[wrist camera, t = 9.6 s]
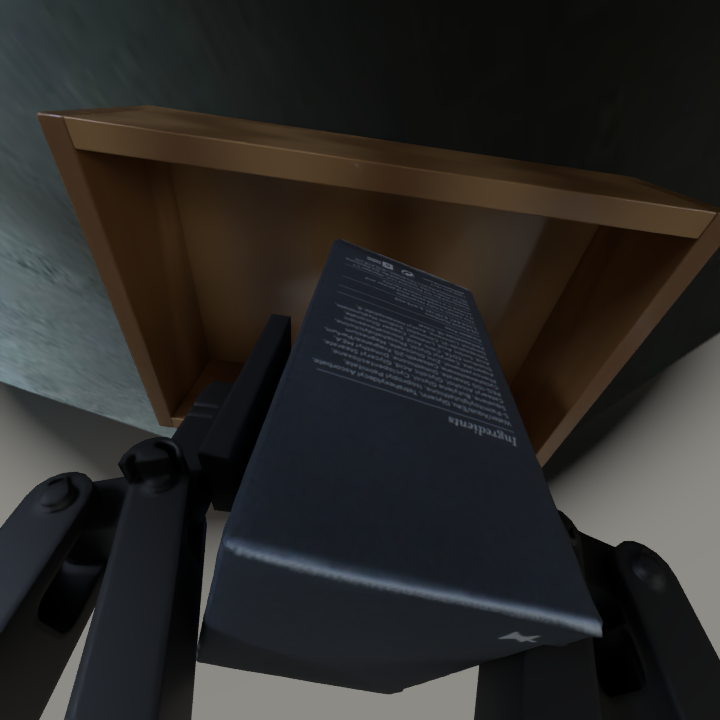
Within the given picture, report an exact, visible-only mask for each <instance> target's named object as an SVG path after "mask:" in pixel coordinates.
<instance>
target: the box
mask: <svg viewBox="0 0 720 720" xmlns="http://www.w3.org/2000/svg"><path fill="white" fill-rule="evenodd" d="M602 623H603V621H602V619H601V617H600V615H599V613H598V611H597V609H596V607H595V604H594V602H593V600H592V598H591V595H590V593H589V591H588V588H587V586H586V583H585V581H584V579H583V575H582V572H581V569H580V565H579V563H578V560H577V558H576V555H575V553H574V550H573V548H572V545H571V543H570V540H569V537H568V534H567V532H566V529H565V527H564V525H563V522H562V520H561V518H560V515H559V513H558V511H557V508H556V506H555V503H554V501H553V499H552V496H551V493H550V491H549V488H548V485H547V483H546V481H545V478H544V474H543V471H542V468H541V466H540V464H539V462H538V460H537V457H536V454H535V451H534V449H533V446H532V444H531V442H530V439H529V437H528V433H527V431H526V429H525V427H524V423H523V420H522V418H521V416H520V413H519V411H518V408H517V406H516V403H515V401H514V398H513V395H512V393H511V392H510V388H509V385H508V383H507V381H506V378H505V376H504V373H503V371H502V368H501V365H500V363H499V360H498V358H497V355H496V352H495V350H494V348H493V345H492V343H491V340H490V338H489V335H488V333H487V330H486V328H485V326H484V322H483V320H482V317H481V314H480V312H479V310H478V307H477V305H476V302H475V300H474V297H473V294H472V292H471V291H470V290H468V289H466V288H464V287H462V286H459V285H456V284H453V283H451V282H449V281H446V280H444V279H442V278H440V277H436V276H434V275H432V274H429V273H426V272H424V271H422V270H419V269H416V268H413V267H410V266H408V265H406V264H404V263H401V262H399V261H396V260H393V259H391V258H388V257H385V256H383V255H381V254H378V253H375V252H372V251H370V250H368V249H365V248H362V247H360V246H358V245H355V244H352V243H350V242H348V241H346V240H344V239H338V240H334V242H333V244H332V246H331V249H330V252H329V255H328V257H327V260H326V262H325V265H324V268H323V270H322V273H321V276H320V279H319V281H318V284H317V286H316V288H315V291H314V294H313V296H312V298H311V301H310V303H309V306H308V308H307V311H306V314H305V316H304V319H303V322H302V324H301V327H300V329H299V332H298V335H297V337H296V340H295V342H294V345H293V348H292V350H291V353H290V356H289V358H288V361H287V364H286V366H285V369H284V371H283V374H282V376H281V379H280V382H279V384H278V387H277V390H276V392H275V395H274V397H273V400H272V403H271V406H270V408H269V411H268V414H267V416H266V418H265V421H264V424H263V426H262V429H261V432H260V434H259V437H258V440H257V442H256V445H255V448H254V450H253V453H252V456H251V458H250V461H249V463H248V465H247V468H246V471H245V473H244V476H243V479H242V482H241V485H240V488H239V490H238V493H237V495H236V498H235V500H234V504H233V507H232V510H231V513H230V516H229V518H228V520H227V522H226V524H225V527H224V530H223V534H222V538H221V542H220V546H219V550H218V553H217V558H216V565H215V570H214V576H213V580H212V583H211V588H210V593H209V597H208V600H207V606H206V610H205V613H204V617H203V622H202V627H201V632H200V637H199V641H198V645H197V653H196V661H197V662H200V663H207V664H212V665H217V666H222V667H228V668H233V669H239V670H245V671H251V672H257V673H264V674H269V675H276V676H282V677H288V678H293V679H298V680H304V681H310V682H315V683H321V684H328V685H334V686H340V687H346V688H351V689H357V690H364V691H370V692H376V693H383V694H393V693H397V692H402V691H403V689H405V688H408V687H411V686H414V685H418V684H422V683H425V682H428V681H430V680H434V679H437V678H440V677H444V676H447V675H449V674H451V673H456V672H459V671H462V670H465V669H468V668H471V667H474V666H477V665H481V664H484V663H487V662H490V661H493V660H496V659H500V658H503V657H506V656H509V655H512V654H515V653H518V652H521V651H525V650H528V649H531V648H534V647H538V646H541V645H543V644H544V645H552V646H555V647H560V646H565V645H567V644H568V643H570V642H575V641H578V640H581V639H584V638H589V637H600V638H603V637H602Z"/></svg>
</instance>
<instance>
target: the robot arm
mask: <svg viewBox="0 0 720 720" xmlns="http://www.w3.org/2000/svg"><path fill="white" fill-rule="evenodd" d="M290 353H291V316H285V315H278V314H271V316H270V318H269V320H268V322H267V324H266V325H265V327H264V329H263V331H262V333H261V335H260V337H259V339H258V340H257V342H256V344H255V346H254V348H253V350H252V352H251V354H250V355H249V357H248V359H247V361H246V363H245V365H244V367H243V368H242V370H241V372H240V374H239V376H238V378H237V380H236V382H235V383H234V384H233V383H226V382H218V381H214V382H213V383H211V384H210V385H209V386H207V387H206V388H205V389H203V390H202V391H201V393H200V394H199V396H198V397H197V399H196V400H195V402H194V405H193V406H192V407H191V408H190V410H189V412H188V413H187V416H185V418H184V419H183V421H182V423H181V424H180V426H179V427H178V429H177V431H176V432H175V434H174V435H173V437H172V438H171V439H170V438H168V437H155V438H151V439H147V440H144V441H142V442H140V443H138V444H136V445H134V446H133V447H132V448H130V449H129V450H128V451H127V452H126V453H125V454H124V455H123V456H122V458H121V460H120V462H119V463H118V465H119V467H120V469H121V471H122V472H123V474H124V476H125V477H120V478H114V479H108V480H102V481H95V482H92V480H91V479H90V478H89V477H87V475H86V474H83V473H79V472H68V473H62V474H59V475H56V476H54V477H51V478H49V479H47V480H46V481H44V482H42V483H40V484H39V485H37V486H36V487H35V488H34V489H33V490H32V491H31V492H30V493H29V494H28V495H26V497H25V498H24V499H23V500H22V502H21V503H20V504H19V505H18V507H17V508H16V509H15V510H14V512H13V513H12V514H11V515H10V517H9V518H8V519H7V520H6V522H5V523H4V524H3V525H2V527H1V528H0V720H39V719H40V717H41V715H42V713H43V710H44V709H45V707H46V705H47V703H48V701H49V699H50V697H51V695H52V693H53V690H54V689H55V686H56V685H57V683H58V680H59V679H60V676H61V674H62V672H63V670H64V668H65V666H66V664H67V662H68V660H69V658H70V656H71V654H72V652H73V650H74V648H75V646H76V644H77V642H78V640H79V638H80V636H81V634H82V632H83V630H84V628H85V626H86V624H87V622H88V620H89V618H90V616H91V614H92V612H93V610H94V608H95V610H94V614H93V617H92V621H91V625H90V628H89V632H88V635H87V639H86V643H85V646H84V650H83V653H82V657H81V661H80V664H79V668H78V671H77V675H76V679H75V682H74V686H73V690H72V693H71V697H70V700H69V704H68V708H67V711H66V715H65V719H64V720H191V714H192V703H193V691H194V678H195V677H194V676H195V666H196V665H195V664H196V653H197V641H198V627H199V616H200V602H201V590H202V578H203V566H204V553H205V540H206V528H207V522H206V516H205V515H206V512H207V510H208V508H209V506H210V503H211V501H212V504H213V507H214V510H218V511H226V512H231V510H232V507H233V504H234V500H235V498H236V495H237V493H238V490H239V488H240V485H241V482H242V479H243V476H244V473H245V471H246V468H247V465H248V463H249V461H250V458H251V456H252V453H253V450H254V448H255V445H256V442H257V440H258V437H259V434H260V432H261V429H262V426H263V424H264V421H265V418H266V416H267V414H268V411H269V408H270V406H271V403H272V400H273V397H274V395H275V392H276V390H277V387H278V384H279V382H280V379H281V376H282V374H283V371H284V369H285V366H286V364H287V361H288V358H289V356H290ZM557 511H558V513H559V515H560V518H561V520H562V522H563V525H564V527H565V529H566V532H567V534H568V537H569V540H570V543H571V545H572V548H573V550H574V553H575V555H576V558H577V560H578V563H579V565H580V569H581V572H582V575H583V579H584V581H585V583H586V586H587V588H588V591H589V593H590V595H591V598H592V600H593V602H594V604H595V607H596V609H597V611H598V613H599V615H600V617H601V619H602V621H603V623H602V637H603V638H600V637H589V638H584V639H581V640H578V641H575V642H570V643H568V644H567V645H565V646H560V647H555V646H552V645H544V644H543V645H541V646H538V647H534V648H531V649H528V650H525V651H521V652H518V653H515V654H512V655H509V656H506V657H503V658H500V659H496V660H493V661H490V662H487V663H484V664H481V665H479V674H478V685H477V695H476V706H475V716H474V720H720V660H719V658H718V656H717V654H716V652H715V650H714V648H713V646H712V644H711V642H710V641H709V639H708V637H707V635H706V633H705V631H704V629H703V627H702V625H701V623H700V621H699V620H698V618H697V616H696V614H695V612H694V610H693V608H692V606H691V604H690V602H689V600H688V598H687V597H686V595H685V593H684V591H683V589H682V587H681V585H680V584H679V581H678V580H677V577H676V576H675V574H674V573H673V571H672V570H671V568H670V567H669V565H668V564H667V563H666V562H665V561H664V560H663V559H662V558H661V557H660V556H659V555H658V554H657V553H656V552H654V551H653V550H651V549H649V548H648V547H646V546H645V545H643V544H640V543H637V542H635V541H623V542H622V543H620V544H619V545H618V546H617V547H613V546H611V545H609V544H606V543H604V542H602V541H600V540H597V539H595V538H593V537H590V536H588V535H586V534H584V533H582V532H580V531H578V530H577V528H576V527H575V525H574V524H573V522H572V521H571V520H570V519H569V518H568V517H567V516H566V515H565V514H564V513H563V512H561V511H559V510H557Z"/></svg>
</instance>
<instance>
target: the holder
mask: <svg viewBox="0 0 720 720" xmlns="http://www.w3.org/2000/svg"><path fill="white" fill-rule="evenodd" d="M36 116H37V118H38V121H39V123H40V126H41V128H42V131H43V133H44V136H45V138H46V141H47V143H48V146H49V148H50V151H51V153H52V156H53V158H54V161H55V164H56V166H57V169H58V171H59V174H60V176H61V179H62V181H63V184H64V186H65V189H66V191H67V194H68V196H69V199H70V201H71V204H72V206H73V209H74V211H75V214H76V216H77V219H78V221H79V224H80V226H81V229H82V231H83V234H84V236H85V239H86V241H87V244H88V247H89V249H90V252H91V254H92V257H93V259H94V262H95V264H96V267H97V269H98V272H99V274H100V277H101V279H102V282H103V284H104V287H105V289H106V292H107V294H108V297H109V299H110V302H111V304H112V307H113V309H114V312H115V314H116V317H117V319H118V322H119V324H120V327H121V330H122V332H123V335H124V337H125V340H126V342H127V345H128V347H129V350H130V352H131V355H132V357H133V360H134V362H135V365H136V367H137V370H138V372H139V375H140V377H141V380H142V382H143V385H144V387H145V390H146V392H147V395H148V397H149V400H150V402H151V405H152V407H153V410H154V413H155V415H156V418H157V420H158V423H159V425H160V426H167V427H175V428H178V427H179V426H180V424H181V423H182V421H183V419H184V418H185V416H187V413H188V412H189V410H190V408H191V407H192V406H193V405H194V402H195V400H196V399H197V397H198V396H199V394H200V393H201V391H202V390H203V389H205V388H206V387H207V386H209V385H210V384H211V383H213V382H214V381H218V382H226V383H233V384H234V383H235V382H236V380H237V378H238V376H239V374H240V372H241V370H242V368H243V367H244V365H245V363H246V361H247V359H248V357H249V355H250V354H251V352H252V350H253V348H254V346H255V344H256V342H257V340H258V339H259V337H260V335H261V333H262V331H263V329H264V327H265V325H266V324H267V322H268V320H269V318H270V316H271V314H278V315H285V316H291V350H292V348H293V345H294V342H295V340H296V337H297V335H298V332H299V329H300V327H301V324H302V322H303V319H304V316H305V314H306V311H307V308H308V306H309V303H310V301H311V298H312V296H313V294H314V291H315V288H316V286H317V284H318V281H319V279H320V276H321V273H322V270H323V268H324V265H325V262H326V260H327V257H328V255H329V252H330V249H331V246H332V244H333V242H334V240H338V239H344V240H346V241H348V242H350V243H352V244H355V245H358V246H360V247H362V248H365V249H368V250H370V251H372V252H375V253H378V254H381V255H383V256H385V257H388V258H391V259H393V260H396V261H399V262H401V263H404V264H406V265H408V266H410V267H413V268H416V269H419V270H422V271H424V272H426V273H429V274H432V275H434V276H436V277H440V278H442V279H444V280H446V281H449V282H451V283H453V284H456V285H459V286H462V287H464V288H466V289H468V290H470V291H471V292H472V294H473V297H474V300H475V302H476V305H477V307H478V310H479V312H480V314H481V317H482V320H483V322H484V326H485V328H486V330H487V333H488V335H489V338H490V340H491V343H492V345H493V348H494V350H495V352H496V355H497V358H498V360H499V363H500V365H501V368H502V371H503V373H504V376H505V378H506V381H507V383H508V385H509V388H510V392H511V393H512V395H513V398H514V401H515V403H516V406H517V408H518V411H519V413H520V416H521V418H522V420H523V423H524V427H525V429H526V431H527V433H528V437H529V439H530V442H531V444H532V446H533V449H534V451H535V454H536V457H537V460H538V462H539V464H540V466H541V468H542V466H543V465H544V464H545V463H546V461H547V460H548V459H549V458H550V457H551V455H552V454H553V452H555V450H556V449H557V448H558V447H559V445H560V444H561V443H562V442H563V441H564V439H565V438H566V437H567V436H568V434H569V433H570V432H571V431H572V429H573V428H574V427H575V426H576V424H577V423H578V422H579V421H580V419H581V418H582V417H583V416H584V414H585V413H586V412H587V411H588V409H589V408H590V407H591V406H592V404H593V403H594V402H595V401H596V399H597V398H598V397H599V396H600V394H601V393H602V392H603V391H604V389H605V388H606V387H607V386H608V384H609V383H610V382H611V381H612V379H613V378H614V377H615V376H616V374H617V373H618V372H619V371H620V369H621V368H622V367H623V366H624V365H625V363H626V362H627V361H628V360H629V358H630V357H631V356H632V355H633V353H634V352H635V351H636V350H637V348H638V347H639V346H640V345H641V343H642V342H643V341H644V340H645V338H646V337H647V336H648V335H649V333H650V332H651V331H652V330H653V328H654V327H655V326H656V325H657V323H658V322H659V321H660V320H661V318H662V317H663V316H664V315H665V313H666V312H667V311H668V310H669V308H670V307H671V306H672V305H673V303H674V302H675V301H676V300H677V298H678V297H679V296H680V295H681V293H682V292H683V291H684V290H685V289H686V287H687V286H688V285H689V284H690V282H691V281H692V280H693V279H694V277H695V276H696V275H697V274H698V272H699V271H700V270H701V269H702V267H703V266H704V265H705V264H706V262H707V261H708V260H709V259H710V257H711V256H712V255H713V254H714V252H715V251H716V250H717V249H718V247H719V246H720V208H719V207H716V206H713V205H711V204H708V203H705V202H702V201H699V200H696V199H693V198H691V197H688V196H685V195H682V194H679V193H676V192H674V191H671V190H668V189H665V188H662V187H659V186H657V185H654V184H651V183H648V182H645V181H642V180H640V179H637V178H634V177H629V176H623V175H616V174H609V173H602V172H596V171H589V170H582V169H576V168H569V167H562V166H555V165H549V164H542V163H535V162H528V161H522V160H515V159H508V158H501V157H495V156H488V155H481V154H475V153H468V152H461V151H454V150H448V149H441V148H434V147H427V146H421V145H414V144H407V143H400V142H394V141H387V140H380V139H374V138H367V137H360V136H353V135H347V134H340V133H333V132H326V131H320V130H313V129H306V128H299V127H293V126H286V125H279V124H273V123H266V122H259V121H252V120H246V119H239V118H232V117H225V116H219V115H212V114H205V113H198V112H192V111H185V110H178V109H172V108H165V107H158V106H151V105H144V106H130V107H113V108H96V109H79V110H62V111H45V112H37V113H36Z"/></svg>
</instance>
